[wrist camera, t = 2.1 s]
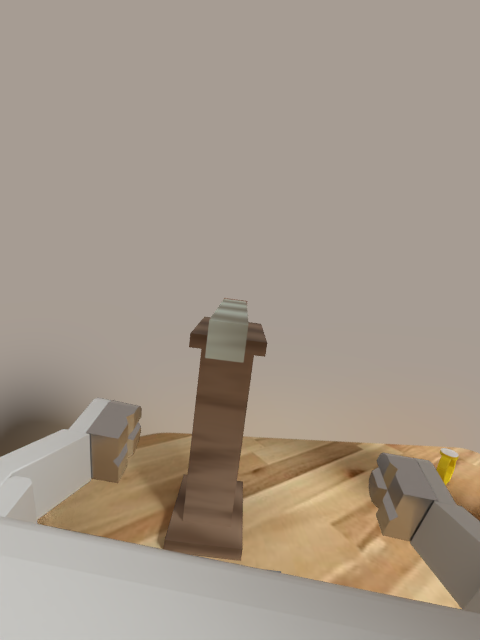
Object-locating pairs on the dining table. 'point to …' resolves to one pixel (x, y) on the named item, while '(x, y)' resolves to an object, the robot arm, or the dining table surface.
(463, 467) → the dining table surface
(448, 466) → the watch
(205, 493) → the stand
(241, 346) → the grey green bar
